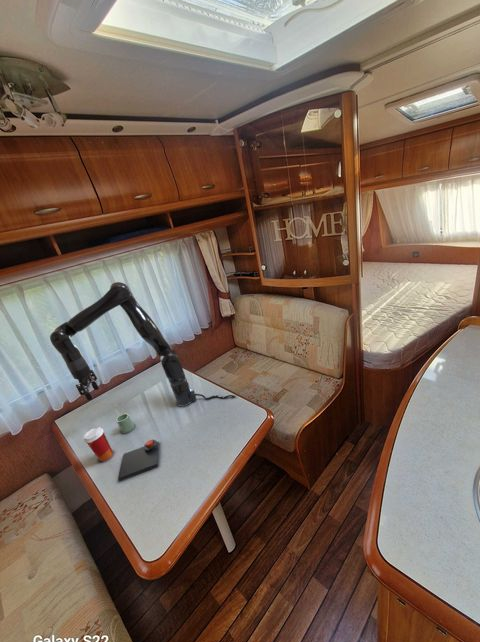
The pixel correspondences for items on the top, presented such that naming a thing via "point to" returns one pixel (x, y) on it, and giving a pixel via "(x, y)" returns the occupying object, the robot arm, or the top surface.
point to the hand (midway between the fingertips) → (93, 394)
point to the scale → (139, 461)
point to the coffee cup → (98, 443)
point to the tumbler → (125, 423)
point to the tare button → (149, 443)
